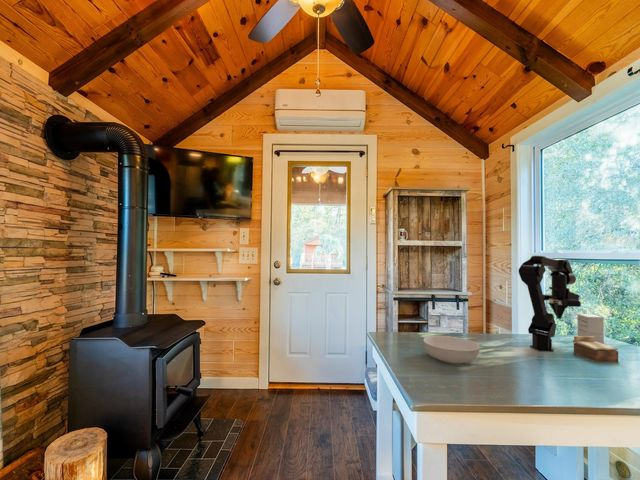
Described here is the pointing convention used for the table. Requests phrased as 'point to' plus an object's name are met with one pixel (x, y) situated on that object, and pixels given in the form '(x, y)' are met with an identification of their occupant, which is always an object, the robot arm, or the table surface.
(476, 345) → the serving bowl
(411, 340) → the table surface
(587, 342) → the lid
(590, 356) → the walnut box
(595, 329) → the supplement box
